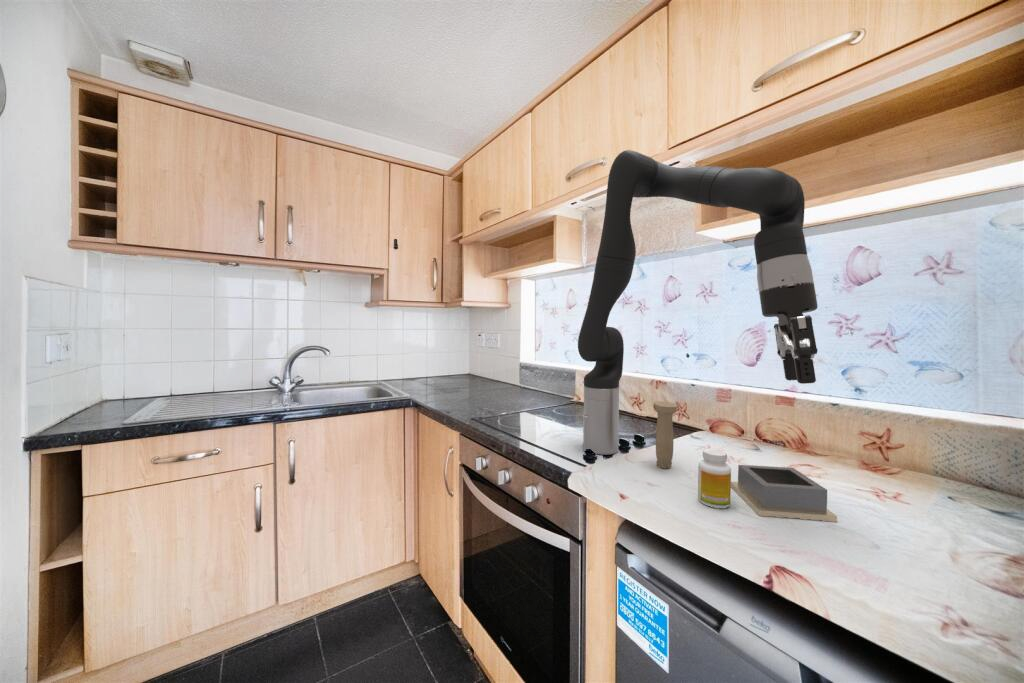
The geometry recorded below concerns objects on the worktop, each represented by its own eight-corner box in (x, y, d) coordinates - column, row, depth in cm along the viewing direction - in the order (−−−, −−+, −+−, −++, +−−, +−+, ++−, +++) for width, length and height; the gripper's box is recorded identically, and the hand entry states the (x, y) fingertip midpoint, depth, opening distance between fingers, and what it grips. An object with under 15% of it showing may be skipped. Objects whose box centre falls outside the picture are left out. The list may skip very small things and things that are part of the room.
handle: (670, 462, 89) (671, 401, 89) (679, 472, 83) (680, 407, 82) (649, 461, 90) (650, 401, 89) (657, 471, 83) (658, 406, 83)
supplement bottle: (736, 510, 66) (737, 457, 65) (705, 508, 66) (706, 456, 66) (721, 496, 71) (722, 447, 71) (693, 495, 72) (694, 446, 71)
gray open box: (759, 515, 64) (760, 487, 63) (730, 486, 75) (730, 462, 75) (837, 521, 62) (838, 493, 61) (794, 490, 73) (795, 466, 73)
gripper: (753, 296, 70) (765, 380, 68) (766, 282, 57) (781, 385, 56) (801, 289, 67) (815, 378, 65) (826, 273, 54) (844, 382, 52)
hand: (799, 381), depth 60 cm, fingers open, 8 cm apart
